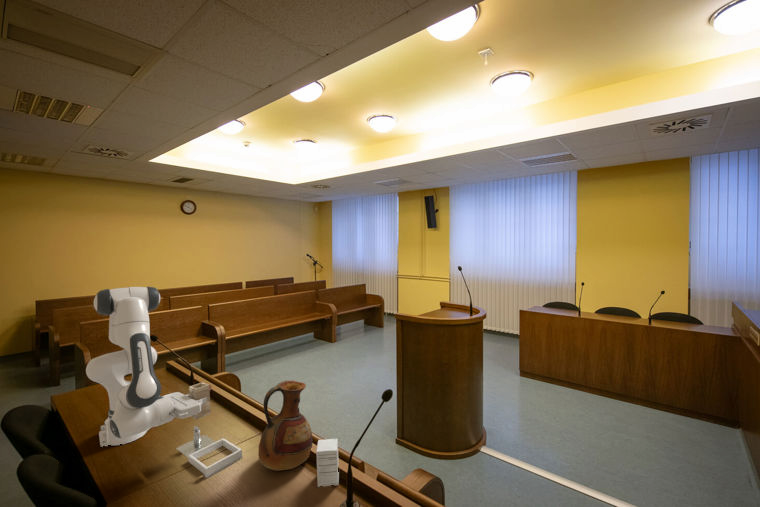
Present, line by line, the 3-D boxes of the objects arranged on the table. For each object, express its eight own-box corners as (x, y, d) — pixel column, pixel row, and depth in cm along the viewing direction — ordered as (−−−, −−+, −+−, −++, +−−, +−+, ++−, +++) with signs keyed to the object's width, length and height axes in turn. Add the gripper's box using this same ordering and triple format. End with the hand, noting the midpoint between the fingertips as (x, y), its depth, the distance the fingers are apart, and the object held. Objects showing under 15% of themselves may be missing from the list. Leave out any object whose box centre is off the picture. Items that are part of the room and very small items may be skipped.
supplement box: (318, 473, 124) (317, 439, 123) (339, 471, 124) (338, 437, 124) (316, 487, 116) (315, 451, 116) (338, 485, 117) (337, 449, 117)
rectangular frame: (188, 464, 131) (188, 455, 131) (223, 446, 142) (223, 438, 142) (206, 478, 122) (206, 468, 122) (242, 458, 134) (241, 449, 134)
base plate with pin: (175, 450, 140) (174, 429, 140) (205, 436, 150) (204, 417, 149) (189, 461, 133) (188, 439, 133) (218, 445, 142) (218, 425, 142)
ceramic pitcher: (318, 467, 127) (316, 388, 126) (262, 485, 118) (259, 401, 117) (305, 440, 145) (303, 371, 144) (256, 454, 136) (253, 381, 135)
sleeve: (190, 416, 138) (188, 386, 138) (207, 408, 144) (206, 380, 143) (196, 419, 134) (195, 389, 134) (214, 412, 140) (213, 383, 140)
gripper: (176, 409, 122) (214, 395, 133) (153, 396, 134) (190, 384, 145) (177, 426, 122) (214, 411, 133) (154, 411, 134) (190, 398, 145)
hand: (201, 397), depth 139 cm, fingers closed on sleeve, 6 cm apart
